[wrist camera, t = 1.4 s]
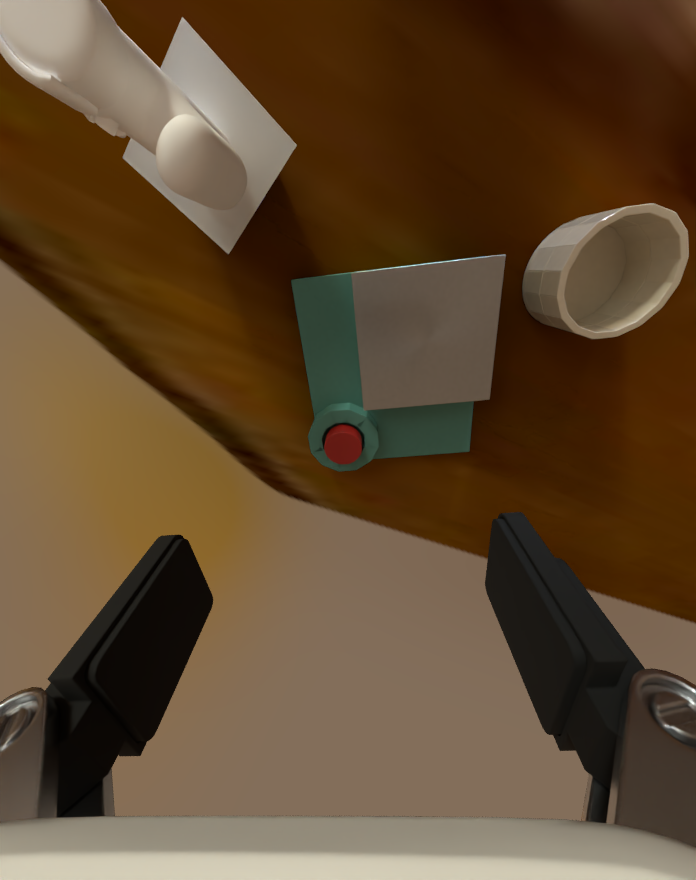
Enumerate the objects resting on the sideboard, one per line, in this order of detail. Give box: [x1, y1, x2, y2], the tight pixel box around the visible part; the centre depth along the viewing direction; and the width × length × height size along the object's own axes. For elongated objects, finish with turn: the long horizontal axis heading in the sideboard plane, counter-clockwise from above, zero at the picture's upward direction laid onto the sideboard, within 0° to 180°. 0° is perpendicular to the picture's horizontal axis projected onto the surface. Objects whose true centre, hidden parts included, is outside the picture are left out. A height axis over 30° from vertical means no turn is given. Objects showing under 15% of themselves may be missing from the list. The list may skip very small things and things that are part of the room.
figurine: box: [0, 0, 297, 254], centre depth 15 cm, size 7×9×15 cm
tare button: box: [324, 424, 362, 464], centre depth 27 cm, size 3×3×2 cm
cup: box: [522, 203, 689, 339], centre depth 22 cm, size 7×7×5 cm
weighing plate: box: [351, 254, 506, 411], centre depth 25 cm, size 10×10×4 cm
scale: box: [291, 256, 485, 471], centre depth 26 cm, size 16×14×3 cm
